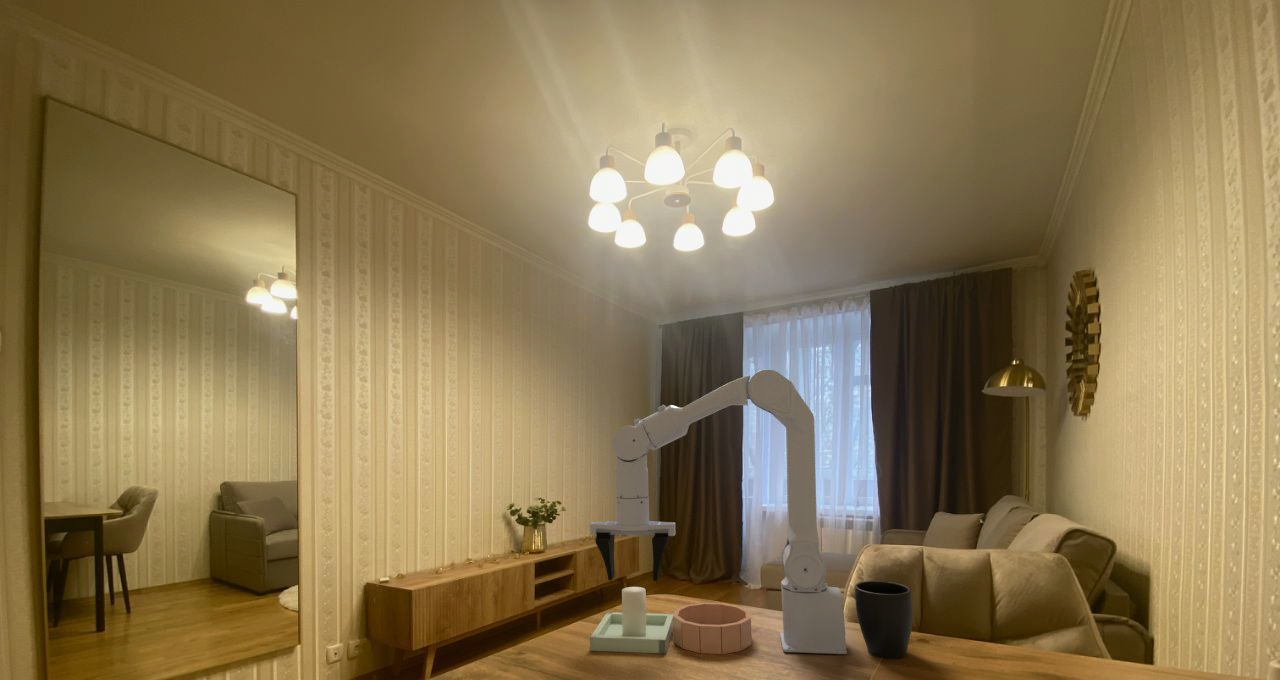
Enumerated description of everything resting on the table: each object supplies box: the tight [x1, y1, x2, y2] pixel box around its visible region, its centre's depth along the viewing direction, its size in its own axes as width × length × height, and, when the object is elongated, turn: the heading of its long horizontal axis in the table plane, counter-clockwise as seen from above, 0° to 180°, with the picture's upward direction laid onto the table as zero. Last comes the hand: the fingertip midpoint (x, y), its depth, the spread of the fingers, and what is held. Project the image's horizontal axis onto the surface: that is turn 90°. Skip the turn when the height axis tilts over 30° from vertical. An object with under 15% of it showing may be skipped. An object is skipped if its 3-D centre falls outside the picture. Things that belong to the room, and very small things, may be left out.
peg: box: [621, 586, 647, 637], centre depth 102 cm, size 4×4×7 cm
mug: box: [854, 579, 914, 660], centre depth 95 cm, size 8×12×10 cm
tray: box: [589, 611, 674, 654], centre depth 101 cm, size 12×13×2 cm
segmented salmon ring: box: [672, 602, 753, 655], centre depth 100 cm, size 13×13×4 cm
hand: (633, 579), depth 102 cm, fingers open, 7 cm apart
